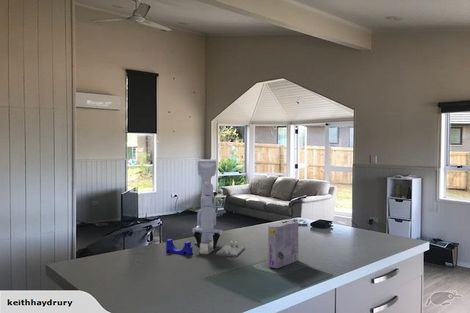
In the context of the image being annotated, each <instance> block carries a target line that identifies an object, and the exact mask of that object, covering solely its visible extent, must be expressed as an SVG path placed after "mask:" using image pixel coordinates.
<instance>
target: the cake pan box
mask: <svg viewBox="0 0 470 313" xmlns="http://www.w3.org/2000/svg"><path fill="white" fill-rule="evenodd" d="M267 230H268V231H267V232H268V233H267V234H268V240H267V241H268V246H267V252H268V254H267V255H268V257H267V258H268V263H267V264H268V267H270V268H272V269H275V270H277V269H279V268H282V267H285V266H288V265H291V264H292V263H296V262H297V261H299V221H287V222H283V223H277V224H274V225H269V226H268V228H267Z"/></svg>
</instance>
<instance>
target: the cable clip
mask: <svg viewBox="0 0 470 313" xmlns="http://www.w3.org/2000/svg"><path fill="white" fill-rule="evenodd" d="M165 242H166V243H165V244H166V245H165V251H166V252H165V253H169V254H176V255H183V256H190V255H192V254H193V246H192V241H189V240H188V241H186V242H184V246H183V248H181V249H179V248H177V247H176V246H175V244H174V242H173V239H172V238H169V239H166V241H165Z"/></svg>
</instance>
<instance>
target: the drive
mask: <svg viewBox="0 0 470 313" xmlns="http://www.w3.org/2000/svg"><path fill="white" fill-rule="evenodd" d="M214 250H215V249H213V240H209V239H206V240H205V241H203V242H201V243H200V248H199V254H202V255H209V254H210V253H212V252H213V251H214Z"/></svg>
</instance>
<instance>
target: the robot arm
mask: <svg viewBox="0 0 470 313" xmlns="http://www.w3.org/2000/svg"><path fill="white" fill-rule="evenodd" d="M197 174H198V176H200V177H201V179H202V184H201V197H200V208H199V209H198V210H197V214H196V215H197V221H196V222H197V226H196V227H193V228H192V233H193V236H194V237H193V238H194V243H193V244H195V245H197V248H198V249H200V243H201V242H203V241H205V240H206V239H209V240H213V249H214V250H216V248H217V245H218V242H219V239H220V237H221V235H222V234H223V230H222V229H217V228H214V227H215V226H216V225H217V214H216V213H217V212H216V210H215V209H214V207H215V195H214V194H215V193H214V185H213V183H211V182H212V181H211V180H212V178H213V177H214V176H216V174H217V159H201V158H200V159H198V160H197Z"/></svg>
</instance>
